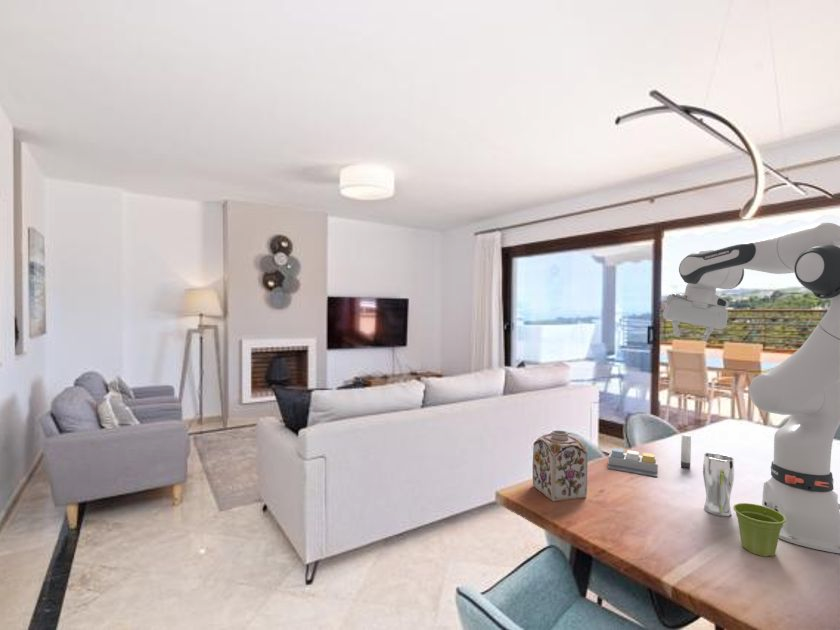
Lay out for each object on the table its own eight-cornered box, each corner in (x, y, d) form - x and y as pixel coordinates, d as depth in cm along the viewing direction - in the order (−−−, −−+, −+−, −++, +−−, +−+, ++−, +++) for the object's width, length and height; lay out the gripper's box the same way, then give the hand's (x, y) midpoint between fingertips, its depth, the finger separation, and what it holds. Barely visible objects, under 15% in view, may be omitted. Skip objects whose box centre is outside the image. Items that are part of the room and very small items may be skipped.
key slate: (622, 461, 150) (623, 452, 150) (611, 459, 152) (611, 450, 152) (623, 457, 153) (623, 449, 153) (612, 456, 155) (612, 447, 155)
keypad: (657, 477, 141) (657, 468, 141) (607, 468, 148) (607, 459, 148) (657, 464, 152) (657, 456, 152) (611, 457, 160) (611, 449, 159)
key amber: (654, 466, 145) (654, 457, 145) (642, 464, 147) (642, 455, 147) (654, 462, 148) (654, 454, 148) (642, 461, 150) (642, 452, 150)
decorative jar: (552, 502, 122) (553, 439, 122) (531, 486, 133) (532, 427, 133) (588, 498, 125) (589, 436, 125) (565, 482, 136) (566, 425, 136)
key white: (638, 463, 148) (638, 454, 148) (626, 461, 149) (626, 453, 149) (638, 460, 151) (639, 451, 151) (627, 458, 153) (627, 450, 153)
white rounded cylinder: (690, 469, 148) (691, 437, 148) (681, 467, 150) (681, 436, 149) (690, 466, 151) (690, 435, 151) (680, 465, 152) (681, 434, 152)
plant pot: (786, 567, 92) (787, 527, 92) (732, 551, 98) (732, 513, 98) (783, 548, 100) (784, 510, 100) (733, 534, 106) (734, 499, 105)
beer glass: (703, 513, 116) (704, 458, 116) (700, 503, 122) (702, 450, 122) (735, 519, 113) (736, 462, 113) (730, 509, 119) (732, 454, 119)
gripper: (673, 292, 146) (664, 332, 147) (734, 303, 146) (725, 343, 146) (663, 292, 153) (655, 330, 153) (722, 303, 152) (713, 342, 152)
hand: (690, 337), depth 150 cm, fingers open, 8 cm apart
